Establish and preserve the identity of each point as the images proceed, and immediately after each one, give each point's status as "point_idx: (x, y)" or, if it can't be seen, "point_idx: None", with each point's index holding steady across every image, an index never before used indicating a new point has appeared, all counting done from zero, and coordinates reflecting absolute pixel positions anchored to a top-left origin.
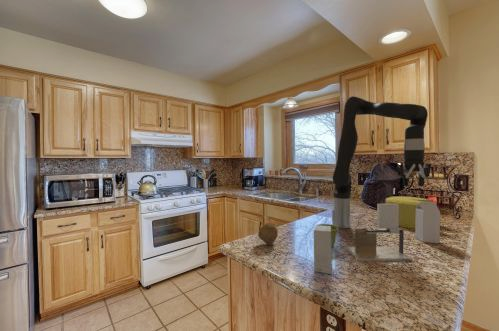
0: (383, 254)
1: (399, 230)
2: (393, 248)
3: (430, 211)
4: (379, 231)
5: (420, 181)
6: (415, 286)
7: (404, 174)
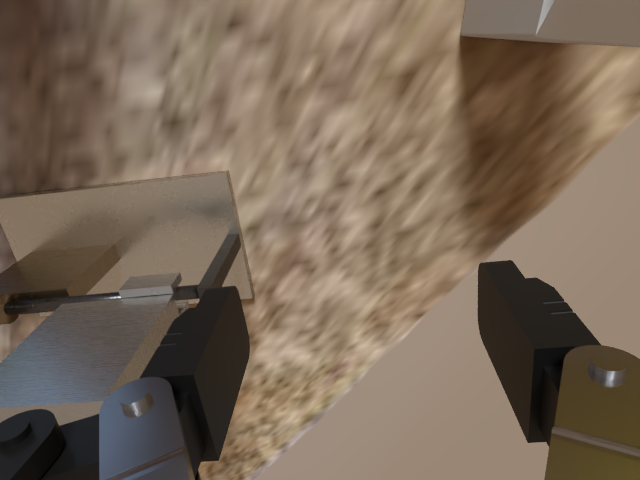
0: (146, 271)
1: None
2: (217, 197)
3: (606, 39)
4: None
5: (504, 356)
6: None
7: (135, 463)
